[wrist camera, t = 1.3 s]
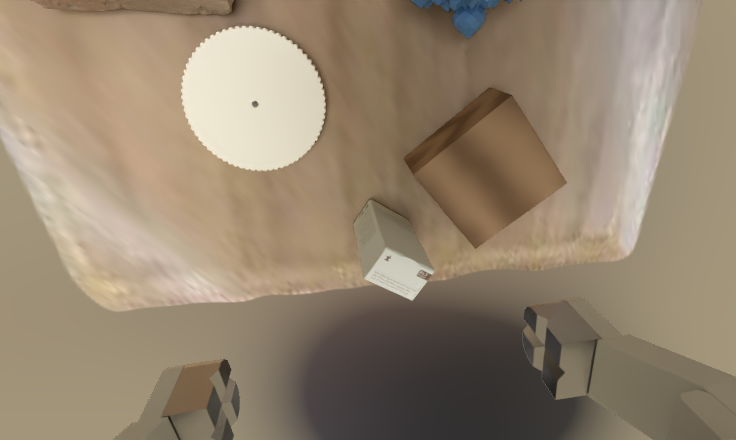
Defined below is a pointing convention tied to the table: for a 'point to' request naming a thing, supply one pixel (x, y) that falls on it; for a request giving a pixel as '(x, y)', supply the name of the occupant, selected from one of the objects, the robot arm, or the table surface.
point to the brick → (143, 5)
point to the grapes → (463, 12)
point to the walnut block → (485, 166)
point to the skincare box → (391, 251)
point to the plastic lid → (253, 98)
